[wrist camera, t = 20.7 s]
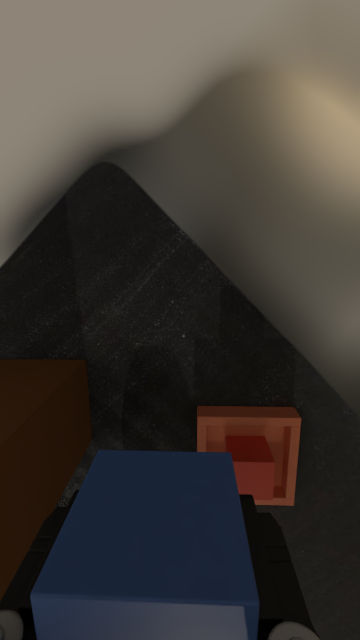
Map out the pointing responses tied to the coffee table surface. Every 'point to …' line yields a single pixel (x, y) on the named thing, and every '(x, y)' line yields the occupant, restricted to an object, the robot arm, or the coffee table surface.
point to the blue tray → (37, 447)
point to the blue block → (151, 554)
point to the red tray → (256, 421)
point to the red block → (252, 465)
